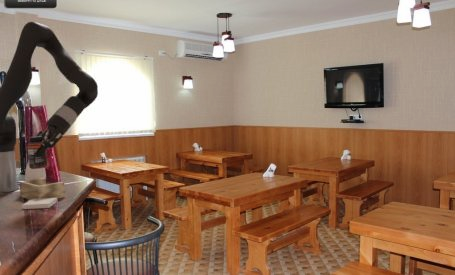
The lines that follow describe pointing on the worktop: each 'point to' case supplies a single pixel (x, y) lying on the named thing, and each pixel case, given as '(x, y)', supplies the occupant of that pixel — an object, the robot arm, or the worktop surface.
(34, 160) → the supplement bottle
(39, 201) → the tile
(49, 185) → the wooden frame
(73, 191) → the worktop surface
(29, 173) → the sauce bottle
